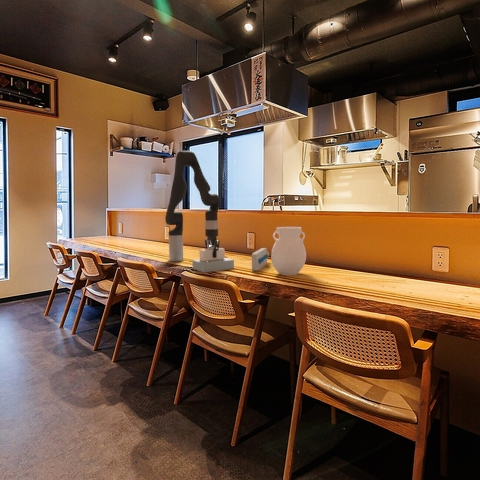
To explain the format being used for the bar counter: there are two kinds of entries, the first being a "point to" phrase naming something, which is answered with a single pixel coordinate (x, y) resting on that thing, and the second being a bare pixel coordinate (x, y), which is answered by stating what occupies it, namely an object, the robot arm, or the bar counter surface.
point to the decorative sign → (259, 259)
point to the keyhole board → (213, 265)
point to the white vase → (288, 250)
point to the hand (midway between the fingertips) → (212, 256)
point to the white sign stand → (211, 254)
